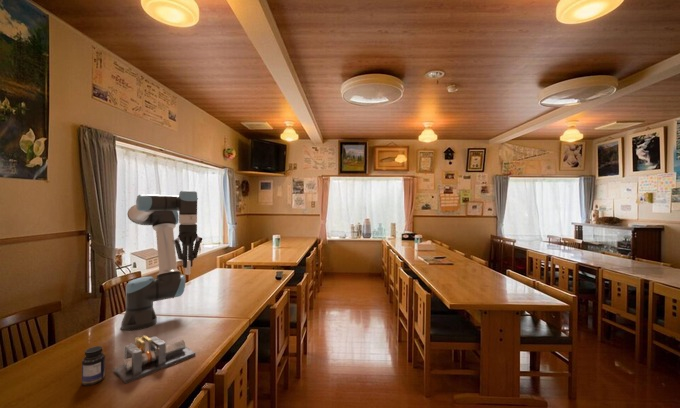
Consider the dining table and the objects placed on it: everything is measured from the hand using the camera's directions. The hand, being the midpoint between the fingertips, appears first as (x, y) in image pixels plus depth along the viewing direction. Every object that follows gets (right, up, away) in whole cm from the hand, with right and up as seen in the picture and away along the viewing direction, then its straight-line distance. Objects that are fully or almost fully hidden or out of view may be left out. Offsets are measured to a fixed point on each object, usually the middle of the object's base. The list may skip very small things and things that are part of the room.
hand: (187, 274), depth 137 cm
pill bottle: (-15, -29, -35) cm, 48 cm away
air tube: (0, -28, -23) cm, 36 cm away
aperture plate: (-4, -28, -25) cm, 37 cm away
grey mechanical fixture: (0, -29, -23) cm, 37 cm away
